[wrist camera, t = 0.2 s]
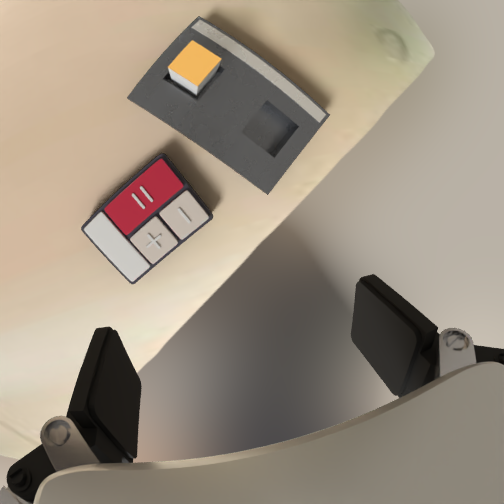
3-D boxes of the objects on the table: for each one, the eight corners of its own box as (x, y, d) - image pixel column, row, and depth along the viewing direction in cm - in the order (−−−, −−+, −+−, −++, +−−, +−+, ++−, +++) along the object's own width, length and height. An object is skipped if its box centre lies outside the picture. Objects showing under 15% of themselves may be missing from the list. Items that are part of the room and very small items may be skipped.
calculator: (215, 218, 36) (131, 288, 36) (211, 211, 40) (135, 275, 40) (162, 151, 32) (77, 230, 32) (163, 151, 36) (86, 222, 36)
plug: (191, 60, 30) (192, 40, 23) (215, 75, 32) (221, 58, 24) (172, 82, 31) (167, 67, 24) (196, 97, 32) (197, 86, 25)
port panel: (197, 25, 28) (198, 15, 25) (319, 116, 37) (330, 114, 34) (132, 101, 31) (126, 97, 28) (261, 190, 39) (267, 195, 36)
